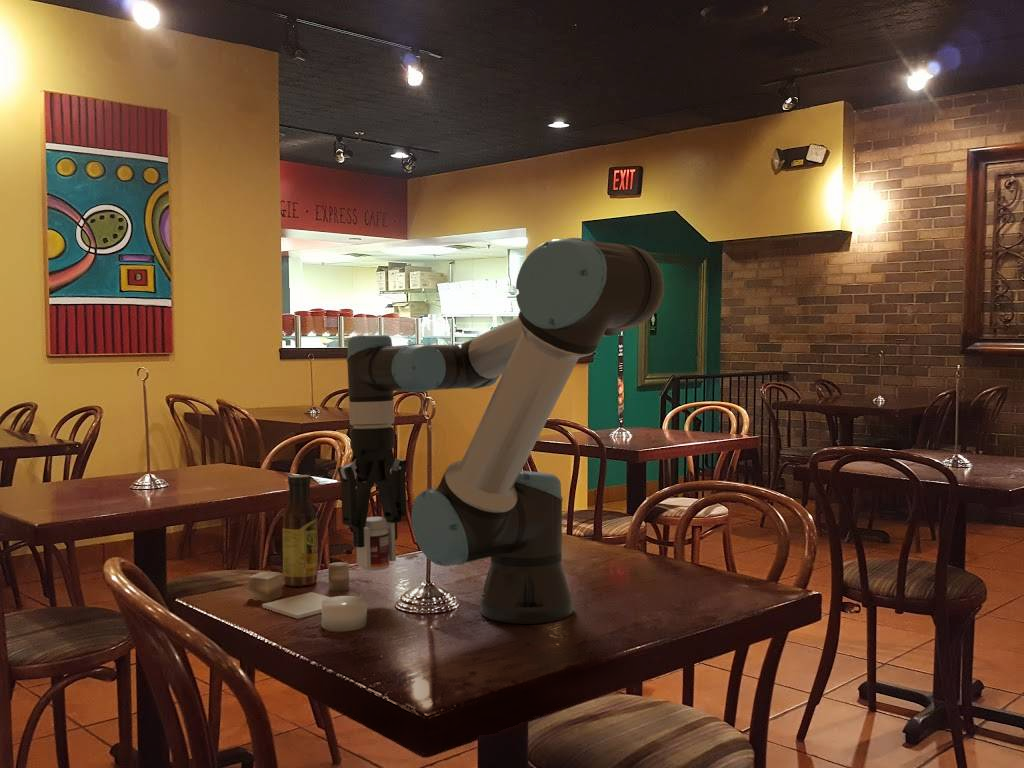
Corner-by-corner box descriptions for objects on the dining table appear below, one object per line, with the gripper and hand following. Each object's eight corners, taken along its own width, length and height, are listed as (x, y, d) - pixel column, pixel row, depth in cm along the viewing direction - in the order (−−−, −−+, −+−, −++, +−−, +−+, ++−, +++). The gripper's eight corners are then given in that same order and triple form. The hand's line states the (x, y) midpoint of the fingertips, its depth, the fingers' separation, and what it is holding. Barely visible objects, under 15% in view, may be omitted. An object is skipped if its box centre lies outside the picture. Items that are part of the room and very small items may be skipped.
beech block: (282, 596, 165) (281, 573, 165) (268, 602, 161) (267, 579, 161) (263, 594, 166) (262, 571, 166) (248, 600, 163) (248, 577, 162)
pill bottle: (355, 569, 160) (354, 520, 159) (373, 563, 164) (371, 515, 164) (378, 572, 158) (376, 522, 157) (395, 565, 162) (393, 517, 161)
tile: (347, 605, 158) (347, 602, 158) (297, 618, 151) (297, 615, 151) (311, 595, 165) (311, 591, 165) (262, 607, 157) (262, 604, 157)
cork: (353, 588, 169) (352, 564, 169) (337, 592, 167) (336, 567, 167) (340, 585, 172) (340, 561, 172) (324, 589, 169) (324, 564, 169)
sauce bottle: (313, 588, 170) (311, 478, 169) (279, 588, 170) (277, 478, 169) (321, 579, 176) (320, 473, 175) (288, 579, 176) (286, 473, 176)
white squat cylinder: (375, 621, 150) (375, 599, 149) (351, 634, 143) (352, 612, 143) (337, 614, 152) (337, 593, 152) (312, 627, 146) (312, 605, 145)
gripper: (397, 422, 169) (401, 551, 170) (315, 429, 156) (320, 569, 156) (425, 423, 164) (430, 556, 165) (344, 430, 151) (348, 575, 151)
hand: (376, 562), depth 160 cm, fingers closed on pill bottle, 5 cm apart
